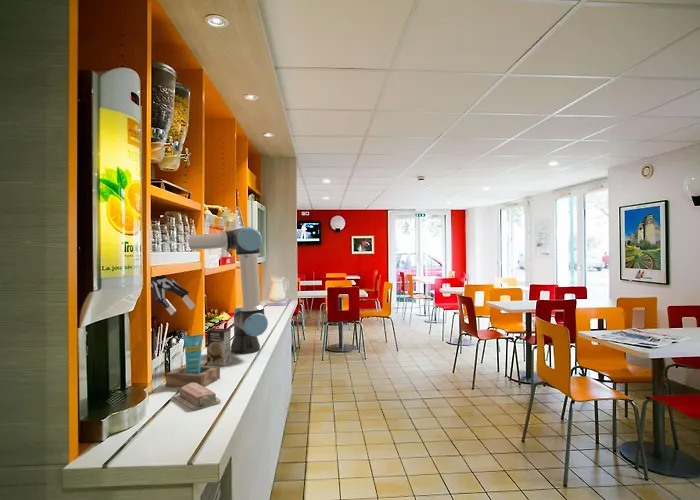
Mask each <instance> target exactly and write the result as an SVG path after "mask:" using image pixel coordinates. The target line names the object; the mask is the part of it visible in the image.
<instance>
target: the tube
mask: <svg viewBox="0 0 700 500" xmlns="http://www.w3.org/2000/svg"><path fill="white" fill-rule="evenodd" d="M203 339H204V334H203V333H201V334H194V335H184V336H183V343H184V354H185V365H186V373H191V374H200V366H201V364H202V363H201V362H202V348H203Z"/></svg>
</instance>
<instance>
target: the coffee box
mask: <svg viewBox="0 0 700 500" xmlns="http://www.w3.org/2000/svg"><path fill="white" fill-rule="evenodd" d="M231 333H232V332H231V328H216V327H215V328H210V329H208V330H206V366H217V367H225V366H226V365H229V364H230V363H231ZM228 363H229V364H228Z"/></svg>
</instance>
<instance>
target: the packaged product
mask: <svg viewBox="0 0 700 500" xmlns="http://www.w3.org/2000/svg"><path fill="white" fill-rule="evenodd" d="M173 397H174V398H175V399H177V400H178V401H179V402H180V403H182V404H183V405H184V406H186V407H188V408H189V409H191V410H192V411H198V410H202V409H205V408H209V407H213V406H216V405H219V404H220V405H221V403H222V400H221V399H220V398H218V397H217V395H216V393H215V392H214V391H212V390H210V389H208V388H207V387H203V386H201V385H200V384H198V383H193V382H192V383H189V384H187V385H185V386H183V387H181V388H179V389H178V393H176V394H173Z"/></svg>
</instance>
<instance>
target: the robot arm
mask: <svg viewBox="0 0 700 500" xmlns="http://www.w3.org/2000/svg"><path fill="white" fill-rule="evenodd" d="M189 235H190V234H189ZM262 237H263V236H262V234H261V232H259V230H258V229H257V228H254V227H250V226H246V227H240V228H236V229H231V230H224V231H223V232H221V233H220V232H219V233H206V234H192V235H190V237H189V240H188V241H189V247H190V249H191V250H190V251H201V250H202V251H203V250H212V249H213V250H214V249H215V250H216V249H223V250H225V251H228V250H231V251H232V250H233V251H235V254H236V256H237V257H238V258H239V265H240V280H241V281H240V282H241V292H242V293H241V295H242V307H236V308H234V309H233V339H232V341H231V342H232V343H231V344H230V353H233V354H237V355H239V354H240V355H241V354H243V355H244V354H252V353H253V354H254V353H256V352H259V351H260V350H261V344H260V341H259V338H258V337H259V336H261V335H263V334H264V333H265V332H266V331H267V328H268V326H269V321H268V318H267V316H266V315H265V307H264V306H263V305H262V304H261V290H260V278H259V275H260V274H259V262H258V257H259V256H260V255H261V248H260V247H261V246H262V243H263V238H262ZM167 276H168V275H162V276H156V277H152V279H151V288H150V290H151V293H152V297H153V300H154V302H155V303H157V305H162V306H163V307H164V308H165V310H166V311H167V313H168V314H169V315H170V316H173V315H174V314H175V313H176V312H177V309H176V308H175V307H174V306H173V305H172V303H171V302H170V301H169V300H168V299H167V298H166V293H165V292H166V291H167V292H170V293H171V292H172V293H173V294H175V295H177V296H179V297H180V298H181V300H182V301H183V303H184V304H185V305H186V306H187V307H188V309H189V310H190V311H191V310H193V309H194V308H195V307H196V304H195V303H194V302H193V301H192V299H191V298H190V297H189V296H188V294H189V293H190V291H188V290H187V289H186V288H184V287H183V286H181V285H180V284H179V283H178V282H176V281H175V280H174V279H173V278H171V279H170V280H169V279H168V278H167Z"/></svg>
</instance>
